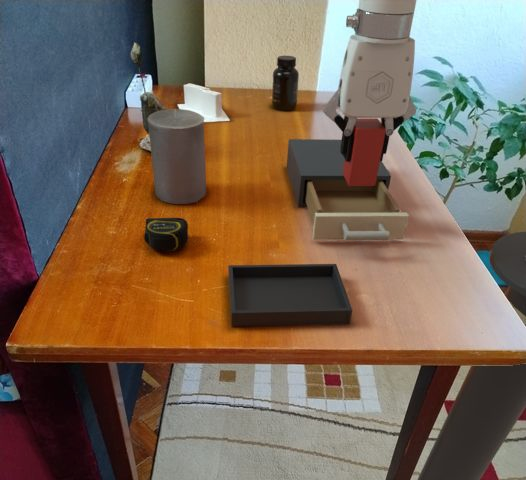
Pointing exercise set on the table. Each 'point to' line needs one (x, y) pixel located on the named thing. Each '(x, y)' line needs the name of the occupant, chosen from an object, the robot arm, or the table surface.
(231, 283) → the tray
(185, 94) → the napkin holder
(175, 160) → the pillar candle
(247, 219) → the table surface
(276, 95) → the supplement bottle
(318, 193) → the drawer
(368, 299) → the table surface
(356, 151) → the card box
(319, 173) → the cabinet
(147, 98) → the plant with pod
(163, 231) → the tape measure
